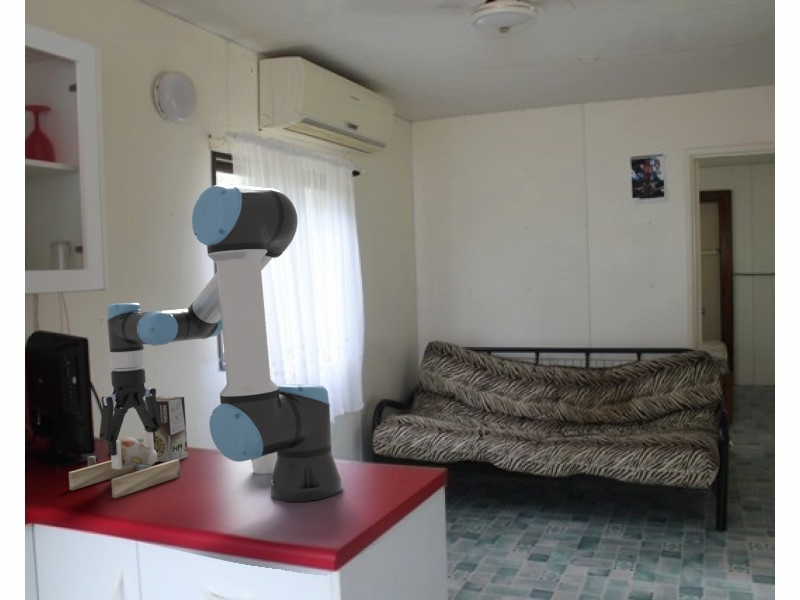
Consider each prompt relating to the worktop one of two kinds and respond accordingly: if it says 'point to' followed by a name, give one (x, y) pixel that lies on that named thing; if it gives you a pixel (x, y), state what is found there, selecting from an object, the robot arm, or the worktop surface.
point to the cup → (265, 464)
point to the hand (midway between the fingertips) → (133, 463)
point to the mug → (136, 453)
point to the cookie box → (171, 429)
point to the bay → (124, 476)
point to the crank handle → (91, 460)
